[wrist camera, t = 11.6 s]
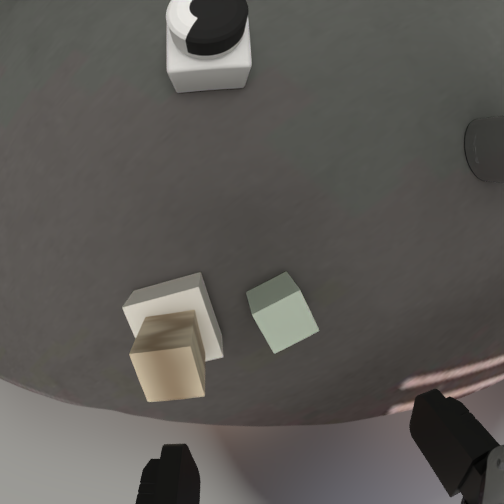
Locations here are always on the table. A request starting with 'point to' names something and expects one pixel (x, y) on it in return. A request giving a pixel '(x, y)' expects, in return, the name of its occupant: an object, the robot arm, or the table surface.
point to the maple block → (170, 357)
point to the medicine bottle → (208, 44)
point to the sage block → (281, 312)
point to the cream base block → (177, 308)
